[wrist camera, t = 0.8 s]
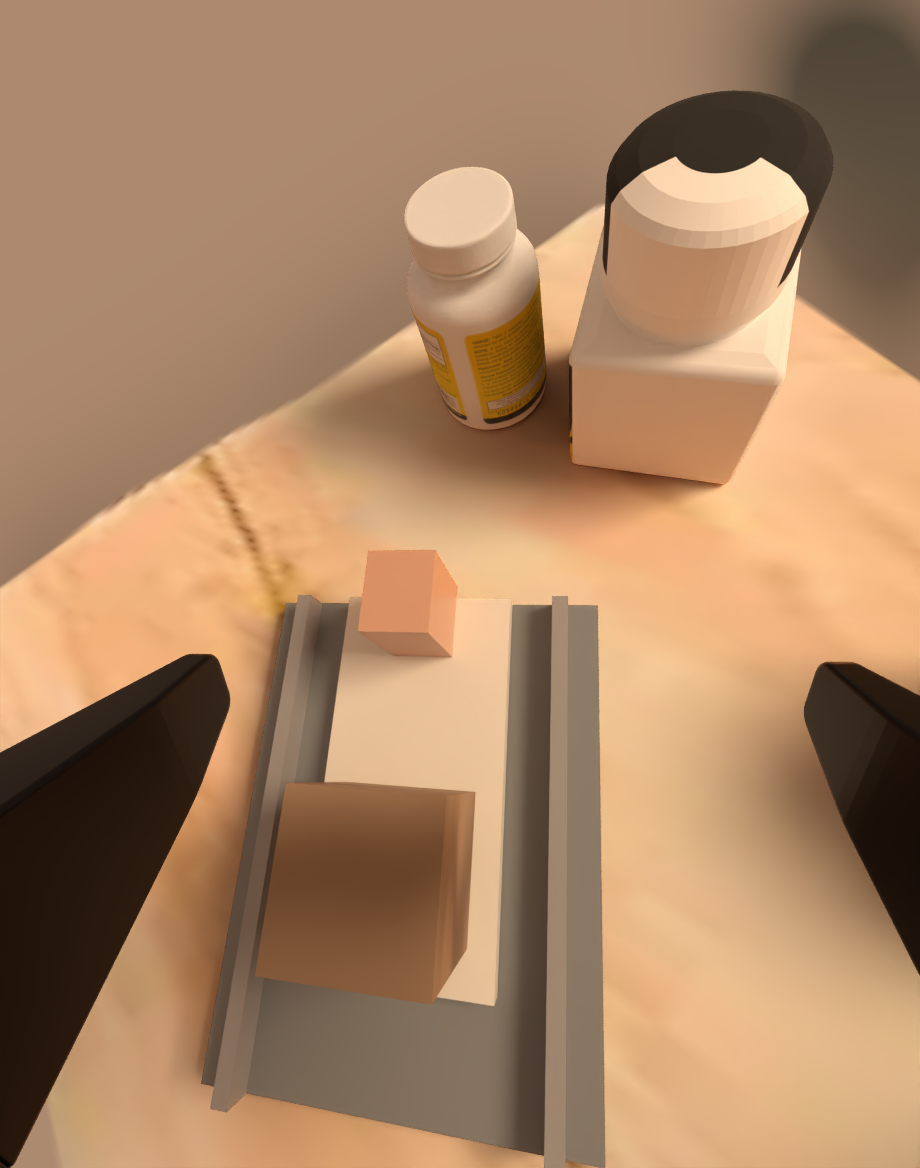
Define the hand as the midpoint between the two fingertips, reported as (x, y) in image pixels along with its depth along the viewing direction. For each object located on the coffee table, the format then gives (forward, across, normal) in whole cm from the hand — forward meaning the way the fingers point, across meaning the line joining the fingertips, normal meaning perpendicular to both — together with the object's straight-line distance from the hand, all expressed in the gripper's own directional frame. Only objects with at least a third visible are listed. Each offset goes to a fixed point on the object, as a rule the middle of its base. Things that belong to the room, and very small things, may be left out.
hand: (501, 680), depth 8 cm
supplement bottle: (+23, +1, 0) cm, 23 cm away
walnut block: (+6, +4, +13) cm, 15 cm away
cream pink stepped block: (+9, +4, +11) cm, 15 cm away
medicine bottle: (+21, -7, +1) cm, 22 cm away
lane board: (+8, +4, +14) cm, 16 cm away
